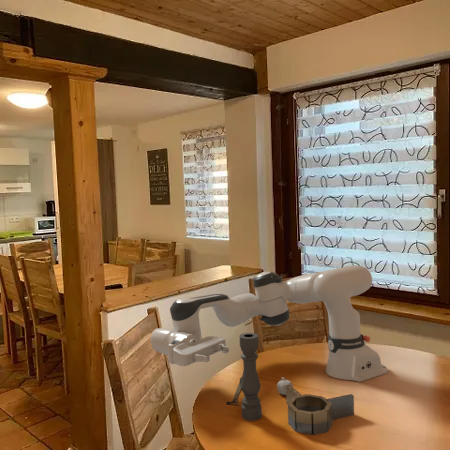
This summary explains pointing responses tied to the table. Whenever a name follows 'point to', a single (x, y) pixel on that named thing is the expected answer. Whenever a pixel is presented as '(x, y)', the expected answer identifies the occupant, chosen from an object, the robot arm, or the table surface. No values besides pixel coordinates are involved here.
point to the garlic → (283, 386)
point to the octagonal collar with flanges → (316, 411)
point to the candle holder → (250, 378)
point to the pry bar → (236, 395)
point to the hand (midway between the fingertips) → (218, 354)
